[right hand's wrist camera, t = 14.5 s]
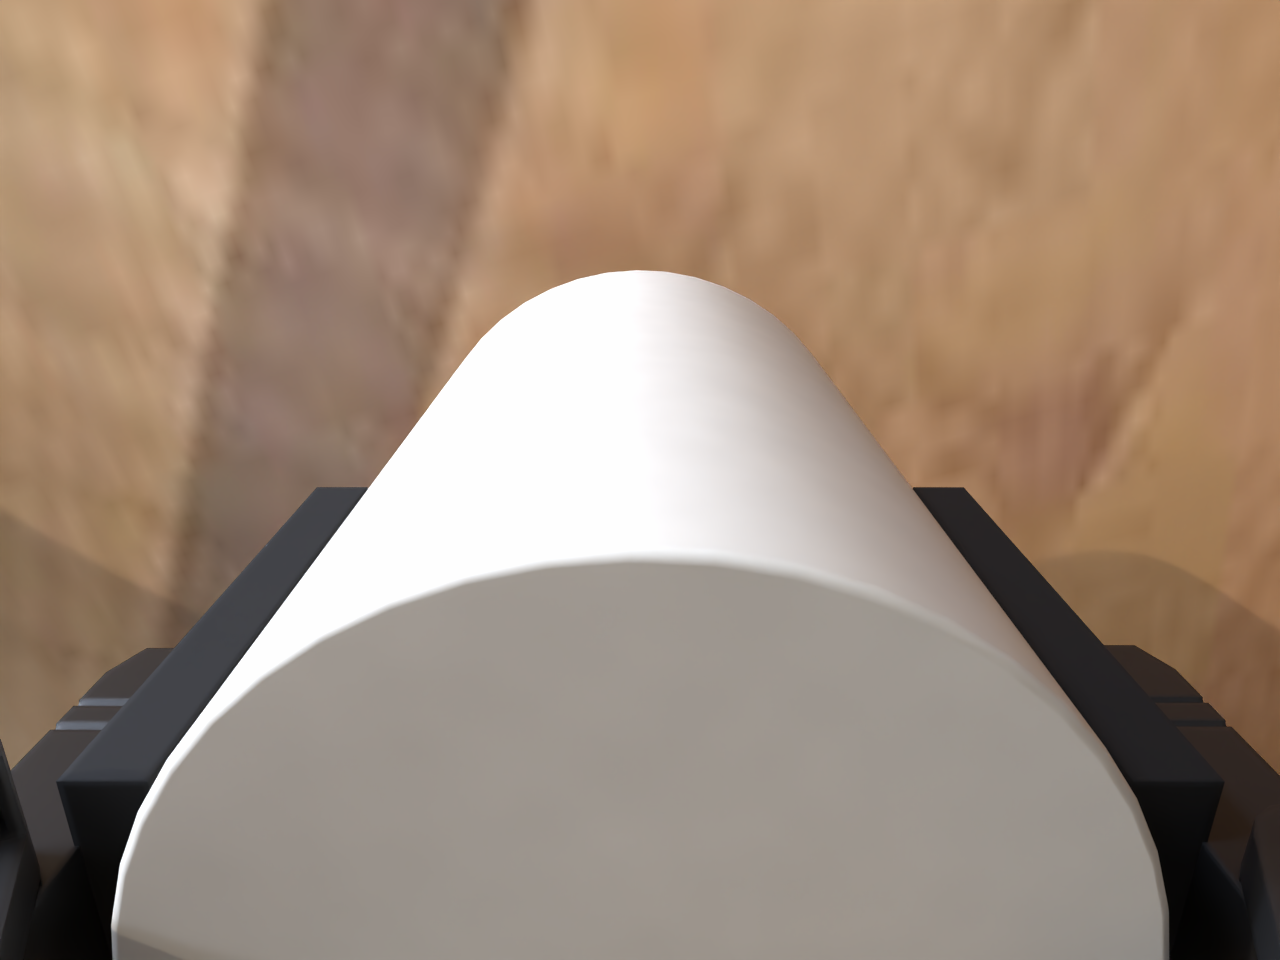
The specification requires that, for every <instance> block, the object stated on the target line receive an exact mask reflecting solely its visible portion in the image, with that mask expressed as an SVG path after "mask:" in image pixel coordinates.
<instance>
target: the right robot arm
mask: <svg viewBox="0 0 1280 960" xmlns="http://www.w3.org/2000/svg"><path fill="white" fill-rule="evenodd" d="M367 490H368V487H317V488H316V489H315V490H314V491H313V493H312V494H311V495H310V496H309V497H308V498H307V499H306V500H305V502H304V503H303V504H302V505H301V506H300V507H299V508H298V509H297V511H296V512H295V513H294V514H293V515H292V516H291V517H290V518H289V520H288V521H287V522H286V523H285V524H284V525H283V526H282V527H281V529H280V530H279V531H278V532H277V533H276V534H275V535H274V536H273V538H272V539H271V540H270V541H269V542H268V543H267V544H266V545H265V547H264V548H263V549H262V550H261V551H260V552H259V553H258V554H257V556H256V557H255V558H254V559H253V560H252V561H251V562H250V563H249V565H248V566H247V567H246V568H245V569H244V570H243V571H242V572H241V574H240V575H239V576H238V577H237V578H236V579H235V580H234V582H233V583H232V584H231V585H230V586H229V587H228V588H227V589H226V591H225V592H224V593H223V594H222V595H221V596H220V597H219V598H218V600H217V601H216V602H215V603H214V604H213V605H212V606H211V607H210V609H209V610H208V611H207V612H206V613H205V614H204V615H203V616H202V618H201V619H200V620H199V621H198V622H197V623H196V624H195V625H194V627H193V628H192V629H191V630H190V631H189V632H188V633H187V634H186V636H185V637H184V638H183V639H182V640H181V641H180V642H179V643H178V645H177V646H176V647H175V648H146V649H145V650H143V651H141V652H140V653H138V654H136V655H135V656H133V657H131V658H130V659H128V660H126V661H125V662H123V663H121V664H119V665H118V666H116V667H114V668H113V669H111V670H109V671H108V672H106V673H105V674H104V675H103V676H102V677H101V678H100V679H99V680H98V681H97V682H96V683H95V684H94V685H93V687H92V688H91V689H90V690H89V691H88V692H87V693H86V694H85V695H84V696H83V697H82V698H81V699H80V700H79V705H78V706H73V707H72V708H71V709H70V710H69V711H68V712H67V713H66V714H65V715H64V716H63V717H62V718H61V719H60V720H59V721H58V722H57V724H56V729H55V730H50V731H49V732H48V733H47V734H46V735H45V736H44V737H43V738H42V739H41V740H40V741H39V742H38V743H37V744H36V745H35V746H34V747H33V748H32V749H31V750H30V751H29V752H28V753H27V754H26V755H25V756H24V757H23V758H22V759H21V761H20V762H19V763H18V764H17V765H16V766H15V767H14V768H13V769H12V770H11V771H10V768H9V765H8V761H7V758H6V755H5V752H4V748H3V745H2V742H1V739H0V960H112V933H111V923H112V915H113V908H114V902H115V895H116V888H117V881H118V874H119V868H120V863H121V860H122V857H123V854H124V851H125V848H126V845H127V842H128V839H129V836H130V834H131V831H132V828H133V825H134V822H135V819H136V816H137V813H138V811H139V809H140V807H141V805H142V803H143V802H144V800H145V798H146V796H147V794H148V793H149V791H150V789H151V787H152V785H153V784H154V782H155V780H156V778H157V777H158V775H159V773H160V771H161V769H162V768H163V766H164V764H165V762H166V760H167V759H168V757H169V756H170V755H171V753H172V752H173V751H174V749H175V748H176V747H177V745H178V744H179V743H180V741H181V740H182V739H183V737H184V736H185V735H186V733H187V732H188V731H189V729H190V728H191V727H192V725H193V724H194V723H195V721H196V720H197V718H198V717H199V716H200V714H201V713H202V712H203V710H204V709H205V708H206V706H207V705H208V704H209V702H210V701H211V700H212V698H213V697H214V696H215V694H216V693H217V692H218V690H219V689H220V688H221V686H222V685H223V684H224V682H225V681H226V680H227V678H228V677H229V675H230V674H231V673H232V671H233V670H234V669H235V667H236V666H237V665H238V663H239V662H240V661H241V659H242V658H243V657H244V655H245V654H246V653H247V651H248V650H249V649H250V647H251V646H252V645H253V643H254V642H255V641H256V639H257V638H258V637H259V635H260V634H261V632H262V631H263V630H264V628H265V627H266V626H267V624H268V623H269V622H270V620H271V619H272V618H273V616H274V615H275V614H276V612H277V611H278V610H279V608H280V607H281V606H282V604H283V603H284V602H285V600H286V599H287V598H288V596H289V595H290V594H291V592H292V591H293V590H294V588H295V587H296V585H297V584H298V583H299V581H300V580H301V579H302V577H303V576H304V575H305V573H306V572H307V571H308V569H309V568H310V567H311V565H312V564H313V563H314V561H315V560H316V559H317V557H318V556H319V555H320V553H321V552H322V551H323V549H324V548H325V547H326V545H327V544H328V542H329V541H330V540H331V538H332V537H333V536H334V534H335V533H336V532H337V530H338V529H339V528H340V526H341V525H342V524H343V522H344V521H345V520H346V518H347V517H348V516H349V514H350V513H351V512H352V510H353V509H354V508H355V506H356V505H357V504H358V502H359V501H360V500H361V498H362V497H363V495H364V494H365V493H366V491H367ZM913 490H914V491H915V493H916V494H917V495H918V497H919V498H920V500H921V501H922V502H923V504H924V505H925V506H926V508H927V509H928V510H929V512H930V513H931V514H932V516H933V517H934V518H935V520H936V521H937V522H938V524H939V525H940V526H941V528H942V529H943V530H944V532H945V533H946V534H947V536H948V537H949V538H950V540H951V541H952V542H953V544H954V545H955V546H956V548H957V549H958V550H959V552H960V553H961V554H962V556H963V557H964V558H965V560H966V561H967V562H968V564H969V565H970V566H971V568H972V569H973V570H974V572H975V573H976V575H977V576H978V577H979V579H980V580H981V581H982V583H983V584H984V585H985V587H986V588H987V589H988V591H989V592H990V593H991V595H992V596H993V597H994V599H995V600H996V601H997V603H998V604H999V605H1000V607H1001V608H1002V609H1003V611H1004V612H1005V613H1006V615H1007V616H1008V617H1009V619H1010V620H1011V621H1012V623H1013V624H1014V625H1015V627H1016V628H1017V629H1018V631H1019V632H1020V633H1021V635H1022V636H1023V637H1024V639H1025V640H1026V641H1027V643H1028V644H1029V646H1030V647H1031V648H1032V650H1033V651H1034V652H1035V654H1036V655H1037V656H1038V658H1039V659H1040V660H1041V662H1042V663H1043V664H1044V666H1045V667H1046V668H1047V670H1048V671H1049V672H1050V674H1051V675H1052V676H1053V678H1054V679H1055V680H1056V682H1057V683H1058V684H1059V686H1060V687H1061V688H1062V690H1063V691H1064V692H1065V694H1066V695H1067V696H1068V698H1069V699H1070V700H1071V702H1072V703H1073V704H1074V706H1075V707H1076V708H1077V710H1078V711H1079V712H1080V714H1081V715H1082V717H1083V718H1084V719H1085V721H1086V722H1087V723H1088V725H1089V726H1090V727H1091V729H1092V730H1093V731H1094V733H1095V734H1096V735H1097V737H1098V738H1099V739H1100V741H1101V742H1102V743H1103V745H1104V746H1105V747H1106V749H1107V751H1108V752H1109V754H1110V755H1111V757H1112V759H1113V760H1114V762H1115V764H1116V765H1117V767H1118V769H1119V770H1120V772H1121V773H1122V775H1123V777H1124V778H1125V780H1126V782H1127V783H1128V785H1129V786H1130V788H1131V790H1132V791H1133V793H1134V795H1135V796H1136V798H1137V800H1138V803H1139V805H1140V808H1141V810H1142V813H1143V815H1144V818H1145V820H1146V823H1147V826H1148V828H1149V831H1150V833H1151V836H1152V838H1153V841H1154V843H1155V846H1156V849H1157V851H1158V856H1159V861H1160V866H1161V871H1162V877H1163V882H1164V887H1165V892H1166V897H1167V903H1168V909H1169V960H1280V776H1279V775H1278V774H1277V773H1276V772H1275V771H1274V770H1273V769H1272V768H1271V767H1270V766H1269V765H1268V764H1267V763H1266V761H1265V760H1264V759H1263V758H1262V757H1261V756H1260V755H1259V754H1258V753H1257V752H1256V751H1255V750H1254V749H1253V748H1252V747H1251V746H1250V745H1249V744H1248V743H1247V742H1246V741H1245V740H1244V739H1243V738H1242V737H1241V736H1240V735H1239V734H1238V733H1237V732H1236V731H1235V730H1234V729H1233V728H1232V727H1226V724H1225V720H1224V719H1223V718H1222V717H1221V716H1220V715H1219V714H1218V713H1217V711H1216V710H1215V709H1214V708H1213V707H1212V706H1211V705H1210V704H1209V703H1203V700H1202V698H1203V697H1202V696H1201V695H1200V694H1199V693H1198V692H1197V691H1196V690H1195V689H1194V688H1193V687H1192V686H1191V685H1190V684H1189V683H1188V682H1187V681H1186V680H1185V679H1184V678H1183V677H1182V676H1181V675H1180V674H1179V673H1178V672H1177V671H1176V670H1175V669H1174V668H1172V667H1170V666H1169V665H1167V664H1165V663H1164V662H1162V661H1160V660H1159V659H1157V658H1155V657H1153V656H1152V655H1150V654H1148V653H1147V652H1145V651H1143V650H1142V649H1140V648H1138V647H1136V646H1135V645H1103V644H1102V643H1101V642H1100V640H1099V639H1098V638H1097V637H1096V636H1095V635H1094V634H1093V633H1092V631H1091V630H1090V629H1089V628H1088V627H1087V626H1086V625H1085V624H1084V622H1083V621H1082V620H1081V619H1080V618H1079V617H1078V616H1077V615H1076V613H1075V612H1074V611H1073V610H1072V609H1071V608H1070V607H1069V606H1068V604H1067V603H1066V602H1065V601H1064V600H1063V599H1062V598H1061V597H1060V595H1059V594H1058V593H1057V592H1056V591H1055V590H1054V589H1053V588H1052V586H1051V585H1050V584H1049V583H1048V582H1047V581H1046V580H1045V579H1044V577H1043V576H1042V575H1041V574H1040V573H1039V572H1038V571H1037V570H1036V568H1035V567H1034V566H1033V565H1032V564H1031V563H1030V562H1029V561H1028V559H1027V558H1026V557H1025V556H1024V555H1023V554H1022V553H1021V552H1020V550H1019V549H1018V548H1017V547H1016V546H1015V545H1014V544H1013V543H1012V541H1011V540H1010V539H1009V538H1008V537H1007V536H1006V535H1005V533H1004V532H1003V531H1002V530H1001V529H1000V528H999V527H998V526H997V524H996V523H995V522H994V521H993V520H992V519H991V518H990V517H989V515H988V514H987V513H986V512H985V511H984V510H983V509H982V508H981V506H980V505H979V504H978V503H977V502H976V501H975V500H974V499H973V497H972V496H971V495H970V494H969V493H968V492H967V491H966V490H965V488H943V487H913Z"/></svg>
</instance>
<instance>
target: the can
mask: <svg viewBox="0 0 1280 960" xmlns="http://www.w3.org/2000/svg"><path fill="white" fill-rule="evenodd" d="M111 933H112V960H1169V909H1168V903H1167V897H1166V892H1165V887H1164V882H1163V877H1162V871H1161V866H1160V861H1159V856H1158V851H1157V849H1156V846H1155V843H1154V841H1153V838H1152V836H1151V833H1150V831H1149V828H1148V826H1147V823H1146V820H1145V818H1144V815H1143V813H1142V810H1141V808H1140V805H1139V803H1138V800H1137V798H1136V796H1135V795H1134V793H1133V791H1132V790H1131V788H1130V786H1129V785H1128V783H1127V782H1126V780H1125V778H1124V777H1123V775H1122V773H1121V772H1120V770H1119V769H1118V767H1117V765H1116V764H1115V762H1114V760H1113V759H1112V757H1111V755H1110V754H1109V752H1108V751H1107V749H1106V747H1105V746H1104V745H1103V743H1102V742H1101V741H1100V739H1099V738H1098V737H1097V735H1096V734H1095V733H1094V731H1093V730H1092V729H1091V727H1090V726H1089V725H1088V723H1087V722H1086V721H1085V719H1084V718H1083V717H1082V715H1081V714H1080V712H1079V711H1078V710H1077V708H1076V707H1075V706H1074V704H1073V703H1072V702H1071V700H1070V699H1069V698H1068V696H1067V695H1066V694H1065V692H1064V691H1063V690H1062V688H1061V687H1060V686H1059V684H1058V683H1057V682H1056V680H1055V679H1054V678H1053V676H1052V675H1051V674H1050V672H1049V671H1048V670H1047V668H1046V667H1045V666H1044V664H1043V663H1042V662H1041V660H1040V659H1039V658H1038V656H1037V655H1036V654H1035V652H1034V651H1033V650H1032V648H1031V647H1030V646H1029V644H1028V643H1027V641H1026V640H1025V639H1024V637H1023V636H1022V635H1021V633H1020V632H1019V631H1018V629H1017V628H1016V627H1015V625H1014V624H1013V623H1012V621H1011V620H1010V619H1009V617H1008V616H1007V615H1006V613H1005V612H1004V611H1003V609H1002V608H1001V607H1000V605H999V604H998V603H997V601H996V600H995V599H994V597H993V596H992V595H991V593H990V592H989V591H988V589H987V588H986V587H985V585H984V584H983V583H982V581H981V580H980V579H979V577H978V576H977V575H976V573H975V572H974V570H973V569H972V568H971V566H970V565H969V564H968V562H967V561H966V560H965V558H964V557H963V556H962V554H961V553H960V552H959V550H958V549H957V548H956V546H955V545H954V544H953V542H952V541H951V540H950V538H949V537H948V536H947V534H946V533H945V532H944V530H943V529H942V528H941V526H940V525H939V524H938V522H937V521H936V520H935V518H934V517H933V516H932V514H931V513H930V512H929V510H928V509H927V508H926V506H925V505H924V504H923V502H922V501H921V500H920V498H919V497H918V495H917V494H916V493H915V491H914V490H913V489H912V487H911V486H910V485H909V483H908V482H907V481H906V479H905V478H904V477H903V475H902V474H901V473H900V471H899V470H898V469H897V467H896V466H895V465H894V463H893V462H892V461H891V459H890V458H889V457H888V455H887V454H886V453H885V451H884V450H883V449H882V447H881V446H880V445H879V443H878V442H877V441H876V439H875V438H874V437H873V435H872V434H871V433H870V431H869V430H868V429H867V427H866V426H865V424H864V423H863V422H862V420H861V419H860V418H859V416H858V415H857V414H856V412H855V411H854V410H853V408H852V407H851V406H850V404H849V403H848V402H847V400H846V399H845V398H844V396H843V395H842V394H841V392H840V391H839V390H838V388H837V387H836V386H835V384H834V383H833V382H832V380H831V379H830V378H829V376H828V375H827V374H826V372H825V371H824V370H823V368H822V367H821V366H820V364H819V363H818V362H817V360H816V359H815V358H814V356H813V355H812V354H811V352H810V351H809V350H808V349H807V348H806V347H805V345H804V344H803V343H802V342H801V341H800V340H799V338H798V337H797V336H796V335H795V334H794V333H793V332H792V331H791V330H790V329H789V328H787V327H786V326H785V325H784V324H783V323H782V322H781V321H780V320H778V319H777V318H776V317H775V316H774V315H773V314H771V313H770V312H768V311H767V310H765V309H764V308H762V307H761V306H759V305H758V304H756V303H755V302H753V301H752V300H750V299H748V298H746V297H744V296H742V295H740V294H738V293H736V292H734V291H732V290H730V289H728V288H726V287H724V286H721V285H718V284H715V283H711V282H708V281H705V280H702V279H699V278H696V277H691V276H686V275H681V274H675V273H670V272H660V271H640V270H635V271H623V272H611V273H604V274H599V275H595V276H590V277H586V278H581V279H577V280H574V281H572V282H569V283H566V284H563V285H561V286H558V287H555V288H552V289H550V290H548V291H546V292H544V293H542V294H540V295H539V296H537V297H535V298H533V299H531V300H529V301H527V302H525V303H524V304H522V305H521V306H520V307H518V308H517V309H515V310H514V311H513V312H511V313H510V314H508V315H507V316H506V317H504V318H503V319H502V320H500V321H499V322H498V323H497V324H496V325H495V326H494V327H493V328H492V329H491V330H490V331H489V332H488V333H487V334H486V335H485V336H484V337H483V338H482V339H481V340H480V341H479V342H478V343H477V345H476V346H475V347H474V349H473V350H472V351H471V352H470V354H469V355H468V356H467V357H466V359H465V360H464V361H463V362H462V364H461V365H460V367H459V368H458V369H457V371H456V372H455V373H454V375H453V376H452V377H451V379H450V380H449V381H448V383H447V384H446V385H445V387H444V388H443V389H442V391H441V392H440V393H439V395H438V396H437V397H436V399H435V400H434V401H433V403H432V404H431V405H430V407H429V408H428V410H427V411H426V412H425V414H424V415H423V416H422V418H421V419H420V420H419V422H418V423H417V424H416V426H415V427H414V428H413V430H412V431H411V432H410V434H409V435H408V436H407V438H406V439H405V440H404V442H403V443H402V444H401V446H400V447H399V448H398V450H397V451H396V452H395V454H394V455H393V457H392V458H391V459H390V461H389V462H388V463H387V465H386V466H385V467H384V469H383V470H382V471H381V473H380V474H379V475H378V477H377V478H376V479H375V481H374V482H373V483H372V485H371V486H370V487H369V489H368V490H367V491H366V493H365V494H364V495H363V497H362V498H361V500H360V501H359V502H358V504H357V505H356V506H355V508H354V509H353V510H352V512H351V513H350V514H349V516H348V517H347V518H346V520H345V521H344V522H343V524H342V525H341V526H340V528H339V529H338V530H337V532H336V533H335V534H334V536H333V537H332V538H331V540H330V541H329V542H328V544H327V545H326V547H325V548H324V549H323V551H322V552H321V553H320V555H319V556H318V557H317V559H316V560H315V561H314V563H313V564H312V565H311V567H310V568H309V569H308V571H307V572H306V573H305V575H304V576H303V577H302V579H301V580H300V581H299V583H298V584H297V585H296V587H295V588H294V590H293V591H292V592H291V594H290V595H289V596H288V598H287V599H286V600H285V602H284V603H283V604H282V606H281V607H280V608H279V610H278V611H277V612H276V614H275V615H274V616H273V618H272V619H271V620H270V622H269V623H268V624H267V626H266V627H265V628H264V630H263V631H262V632H261V634H260V635H259V637H258V638H257V639H256V641H255V642H254V643H253V645H252V646H251V647H250V649H249V650H248V651H247V653H246V654H245V655H244V657H243V658H242V659H241V661H240V662H239V663H238V665H237V666H236V667H235V669H234V670H233V671H232V673H231V674H230V675H229V677H228V678H227V680H226V681H225V682H224V684H223V685H222V686H221V688H220V689H219V690H218V692H217V693H216V694H215V696H214V697H213V698H212V700H211V701H210V702H209V704H208V705H207V706H206V708H205V709H204V710H203V712H202V713H201V714H200V716H199V717H198V718H197V720H196V721H195V723H194V724H193V725H192V727H191V728H190V729H189V731H188V732H187V733H186V735H185V736H184V737H183V739H182V740H181V741H180V743H179V744H178V745H177V747H176V748H175V749H174V751H173V752H172V753H171V755H170V756H169V757H168V759H167V760H166V762H165V764H164V766H163V768H162V769H161V771H160V773H159V775H158V777H157V778H156V780H155V782H154V784H153V785H152V787H151V789H150V791H149V793H148V794H147V796H146V798H145V800H144V802H143V803H142V805H141V807H140V809H139V811H138V813H137V816H136V819H135V822H134V825H133V828H132V831H131V834H130V836H129V839H128V842H127V845H126V848H125V851H124V854H123V857H122V860H121V863H120V868H119V874H118V881H117V888H116V895H115V902H114V908H113V915H112V923H111Z"/></svg>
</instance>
